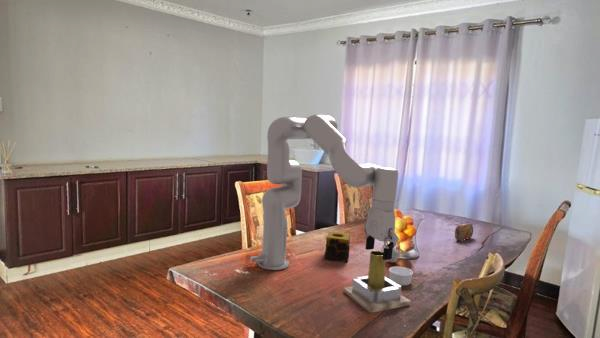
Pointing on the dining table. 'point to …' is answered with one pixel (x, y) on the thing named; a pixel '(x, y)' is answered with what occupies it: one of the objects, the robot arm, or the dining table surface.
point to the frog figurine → (394, 255)
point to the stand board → (373, 306)
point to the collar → (376, 290)
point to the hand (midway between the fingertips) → (378, 254)
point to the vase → (376, 270)
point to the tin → (463, 231)
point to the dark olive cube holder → (337, 246)
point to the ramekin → (401, 275)
